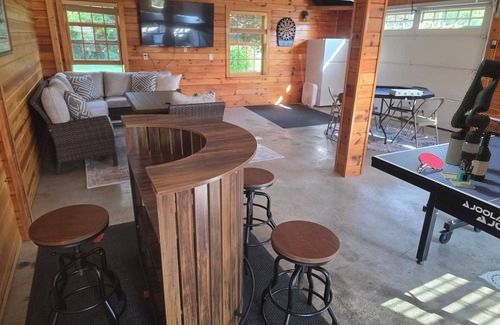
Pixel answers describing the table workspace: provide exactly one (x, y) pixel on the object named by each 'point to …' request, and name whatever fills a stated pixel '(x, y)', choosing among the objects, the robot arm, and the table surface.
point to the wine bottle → (482, 159)
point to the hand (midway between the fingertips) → (462, 178)
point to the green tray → (462, 184)
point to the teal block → (460, 176)
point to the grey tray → (449, 175)
